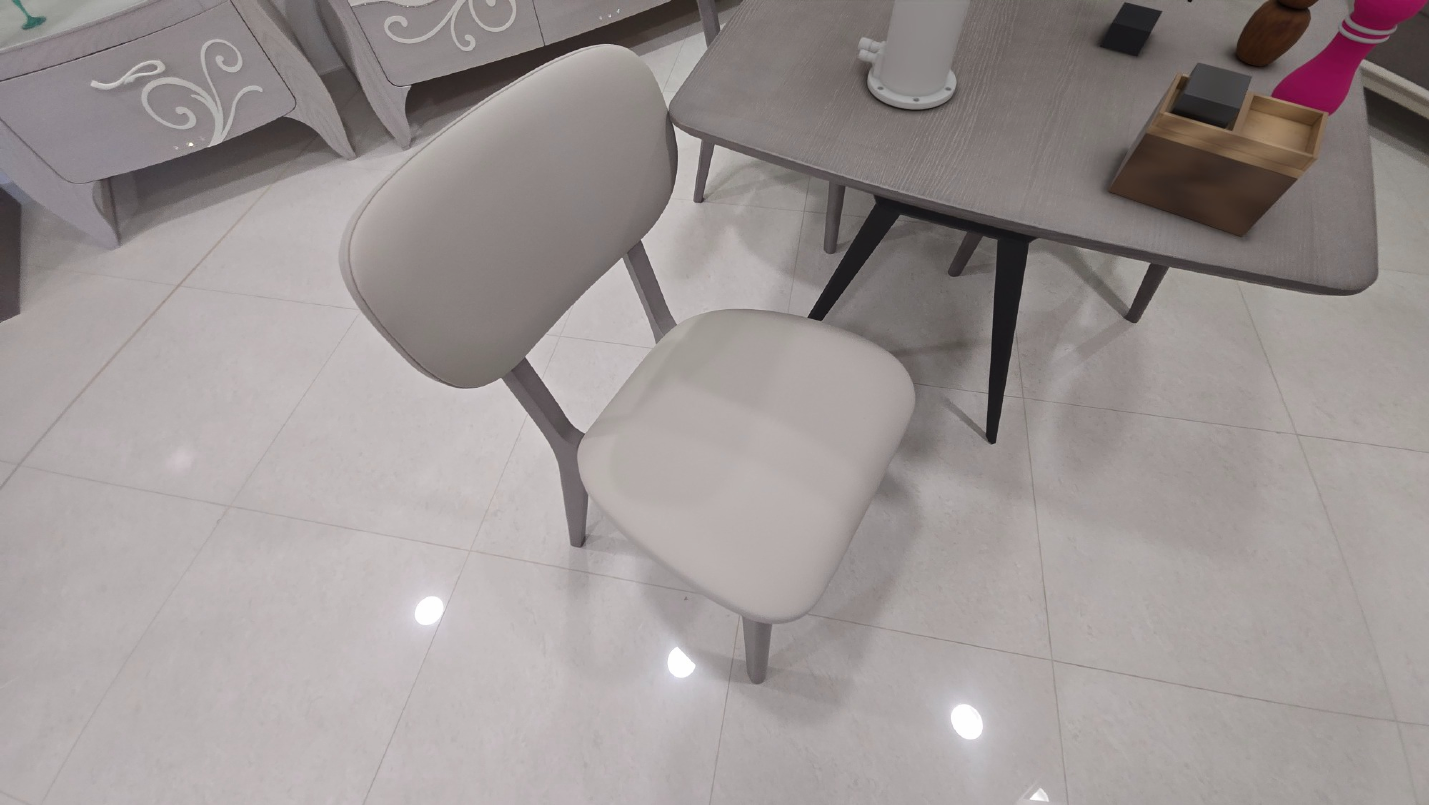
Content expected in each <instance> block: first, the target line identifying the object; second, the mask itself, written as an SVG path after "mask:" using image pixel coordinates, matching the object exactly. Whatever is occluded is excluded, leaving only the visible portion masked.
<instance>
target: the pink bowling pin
mask: <svg viewBox="0 0 1429 805" xmlns="http://www.w3.org/2000/svg"><path fill="white" fill-rule="evenodd" d="M1428 2H1429V0H1354V1H1353V11H1350V12H1348V13H1346V14H1345V16H1344V19H1343V20H1342V21H1341V22H1339V24H1338V25H1337V30H1338V31H1337V33H1336V34H1335V35H1334V37H1333V38H1332V40H1331V41H1330V42H1329V43H1328V44H1327V45H1326V46H1325V48H1324V49H1323V50H1321V51H1319V53H1318V54H1316V55H1315V56H1314V57H1313V58H1311V59H1309V60H1308V61H1307V62H1305V63H1304V64H1302V65H1301V66H1298V67H1297V68H1296V69H1294V70H1292V72H1289V74H1288V75H1286V76H1285V77H1284V78H1282V80H1281V81H1280V82H1279V83H1278V84H1277V85H1276V86H1275V87H1274V89H1273V90H1272V92H1271V95H1270V97H1272V98H1276V99H1280V100H1283V101H1287V102H1291V103H1294V104H1298V105H1302V106H1306V107H1309V108H1313V109H1317V110H1321V111H1324V112H1328V113H1329V115H1328V117H1330V116H1331V115H1333V114H1335V113H1336V112H1337V111H1338V109H1339V108H1340V107H1341V106H1342V104H1343V102H1344V101H1345V100H1346V98H1347V96H1348V94H1349V92H1350V89H1351V86H1352V83H1353V79H1354V77H1355V74H1356V72H1357V70H1358V68H1359V67H1360V65H1361V63H1362V61H1364V59H1365V58H1366V57H1367V56H1368V54H1369V53H1370V52H1371V51H1372V50H1374V48H1376V46H1378V44H1381V43H1384V42H1386V41H1387V40H1388V39H1389V38H1390V36H1391V35H1392V34H1393V33H1395V32H1396V30H1397V29H1398V24H1400V23H1402V22H1405V21H1407V20H1410V19H1411V18H1413V17H1414V16H1415V15H1418V13H1419V12H1420V11H1421V10H1422V9H1423V8H1424V6H1425V5H1426V4H1427V3H1428Z"/></svg>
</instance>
